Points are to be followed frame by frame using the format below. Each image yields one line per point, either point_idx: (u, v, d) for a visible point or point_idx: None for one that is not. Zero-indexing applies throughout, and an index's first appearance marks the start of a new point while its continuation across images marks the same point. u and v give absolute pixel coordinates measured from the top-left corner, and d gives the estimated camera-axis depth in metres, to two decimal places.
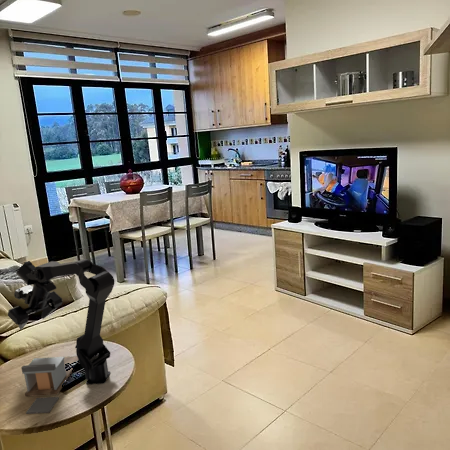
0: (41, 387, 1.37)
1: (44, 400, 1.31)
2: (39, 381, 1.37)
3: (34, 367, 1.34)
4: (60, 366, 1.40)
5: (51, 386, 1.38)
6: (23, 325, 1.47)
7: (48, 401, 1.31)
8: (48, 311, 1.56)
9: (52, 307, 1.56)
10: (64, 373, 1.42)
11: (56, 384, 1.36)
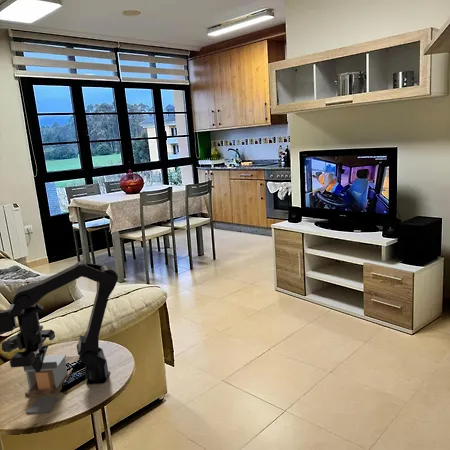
0: (41, 387, 1.37)
1: (44, 400, 1.31)
2: (39, 381, 1.37)
3: None
4: (61, 364, 1.41)
5: (51, 386, 1.38)
6: (40, 361, 1.32)
7: (48, 401, 1.31)
8: None
9: (42, 349, 1.34)
10: (65, 372, 1.43)
11: (57, 382, 1.37)
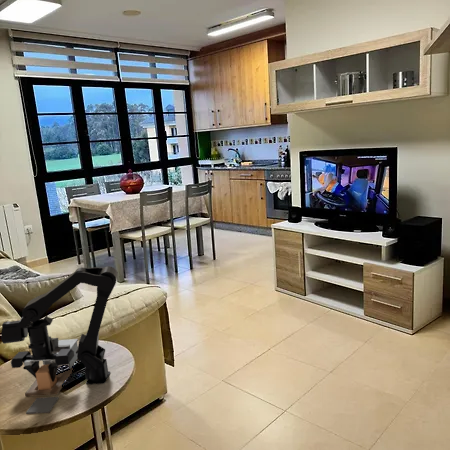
0: (41, 387, 1.37)
1: (44, 400, 1.31)
2: (39, 381, 1.37)
3: None
4: (74, 347, 1.52)
5: (51, 386, 1.38)
6: (31, 373, 1.37)
7: (48, 401, 1.31)
8: None
9: (50, 365, 1.36)
10: (77, 354, 1.54)
11: (70, 363, 1.48)
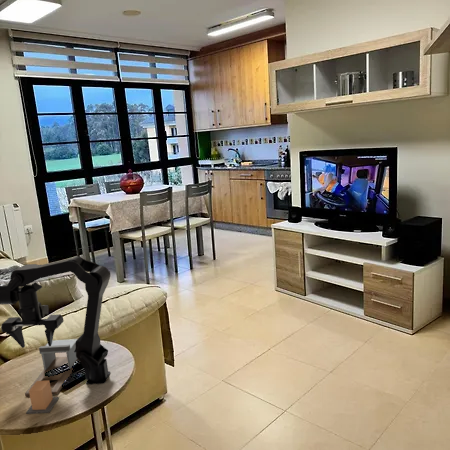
0: (34, 405, 1.27)
1: None
2: (33, 399, 1.26)
3: (50, 347, 1.46)
4: (74, 347, 1.52)
5: (46, 404, 1.28)
6: (14, 338, 1.40)
7: None
8: None
9: (47, 329, 1.39)
10: None
11: (70, 363, 1.48)
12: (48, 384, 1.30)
